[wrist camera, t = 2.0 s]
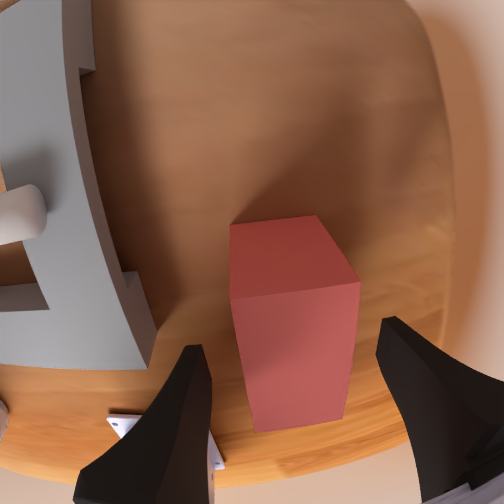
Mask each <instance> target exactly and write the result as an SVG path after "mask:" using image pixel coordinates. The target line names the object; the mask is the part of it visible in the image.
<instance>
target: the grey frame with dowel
mask: <svg viewBox="0 0 504 504" xmlns="http://www.w3.org/2000/svg"><path fill="white" fill-rule="evenodd" d="M93 71H96V66H95V56H94V44H93V30H92V9H91V0H20V1H19V2H17V3H15V4H14V5H12V6H10V7H9V8H7V9H5V10H4V11H2V12H1V13H0V164H1V168H2V173H3V177H4V181H5V185H6V189H7V192H4V193H1V194H0V245H3V244H8V243H12V242H17V241H21V240H22V242H23V245H24V248H25V251H26V253H27V256H28V259H29V261H30V264H31V267H32V269H33V272H34V274H35V277H36V279H37V281H38V282H36V283H27V284H18V285H9V286H0V364H9V365H19V366H30V367H44V368H61V369H88V370H142V369H148V366H149V362H150V358H151V354H152V350H153V347H154V343H155V339H156V335H157V332H158V331H157V329H156V326H155V323H154V320H153V317H152V314H151V312H150V309H149V306H148V303H147V300H146V297H145V293H144V290H143V287H142V284H141V281H140V278H139V274H138V271H130V272H122V271H121V268H120V264H119V261H118V258H117V255H116V251H115V248H114V245H113V241H112V238H111V234H110V231H109V227H108V223H107V220H106V216H105V212H104V208H103V204H102V200H101V196H100V192H99V188H98V183H97V179H96V175H95V170H94V165H93V160H92V155H91V150H90V145H89V140H88V134H87V128H86V122H85V116H84V109H83V102H82V95H81V87H80V78H79V76H81V75H84V74H87V73H90V72H93Z"/></svg>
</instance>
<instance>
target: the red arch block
mask: <svg viewBox="0 0 504 504" xmlns="http://www.w3.org/2000/svg"><path fill="white" fill-rule="evenodd" d="M360 292H361V280H360V279H359V277H358V276H357V274H356V273H355V271H354V270H353V268H352V267H351V265H350V264H349V262H348V261H347V259H346V258H345V256H344V255H343V253H342V252H341V250H340V249H339V247H338V246H337V245H336V243H335V242H334V240H333V239H332V237H331V236H330V234H329V233H328V232H327V230H326V229H325V227H324V226H323V224H322V223H321V222H320V220H319V219H318V217H317V216H316V215H310V216H301V217H292V218H283V219H275V220H266V221H258V222H249V223H241V224H233V225H230V272H229V301H230V306H231V312H232V317H233V323H234V328H235V334H236V339H237V344H238V349H239V355H240V360H241V365H242V370H243V375H244V380H245V385H246V390H247V395H248V400H249V405H250V410H251V415H252V420H253V424H254V429H255V433H257V432H266V431H274V430H282V429H289V428H296V427H302V426H308V425H314V424H320V423H325V422H330V421H335V420H340V419H343V415H344V409H345V404H346V398H347V393H348V387H349V381H350V375H351V368H352V361H353V354H354V347H355V339H356V331H357V322H358V313H359V303H360Z"/></svg>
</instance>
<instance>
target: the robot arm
mask: <svg viewBox="0 0 504 504" xmlns="http://www.w3.org/2000/svg"><path fill="white" fill-rule="evenodd" d="M376 357H377V360H378V364H379V367H380V370H381V372H382V375H383V377H384V380H385V382H386V384H387V386H388V388H389V390H390V392H391V394H392V396H393V398H394V400H395V403H396V405H397V407H398V409H399V411H400V413H401V415H402V418H403V420H404V423H405V426H406V429H407V432H408V436H409V439H410V442H411V446H412V449H413V454H414V458H415V462H416V467H417V472H418V477H419V484H420V490H421V498H422V503H421V504H504V382H503V381H500V380H497V379H495V378H492V377H490V376H487V375H485V374H483V373H480V372H478V371H476V370H474V369H472V368H470V367H468V366H466V365H465V364H463V363H461V362H459V361H457V360H456V359H454V358H452V357H450V356H449V355H448V354H446V353H445V352H443V351H442V350H440V349H439V348H437V347H436V346H434V345H433V344H432V343H430V342H429V341H428V340H426V339H425V338H424V337H422V336H421V335H420V334H418V333H417V332H416V331H414V330H413V329H412V328H411V327H409V326H408V325H407V324H405V323H404V322H403V321H402V320H400V319H399V318H397V317H396V316H393V317H388V318H383V319H382V323H381V328H380V334H379V339H378V345H377V350H376ZM211 407H212V378H211V375H210V372H209V368H208V365H207V361H206V358H205V355H204V351H203V348H202V344H199V345H186V346H185V348H184V349H183V351H182V353H181V355H180V357H179V359H178V361H177V363H176V365H175V367H174V369H173V370H172V372H171V374H170V376H169V377H168V379H167V381H166V382H165V384H164V386H163V387H162V389H161V390H160V392H159V393H158V395H157V396H156V398H155V399H154V401H153V402H152V404H151V405H150V406H149V408H148V409H147V410H146V412H145V413H144V414H143V415H124V414H108V416H107V420H108V422H109V423H110V424H111V426H112V427H113V428H114V430H115V431H116V432H117V434H118V435H119V436H120V438H121V439H120V440H119V441H118V442H117V443H116V444H115V445H113V446H112V447H111V448H110V449H109V450H108V451H107V452H105V453H104V454H103V455H102V456H100V457H99V458H98V459H96V460H95V461H93V462H92V463H90V464H89V465H88V466H86V467H85V468H83V469H81V471H80V473H79V476H78V479H77V483H76V487H75V491H74V496H73V501H74V503H75V504H214V470H218V469H224V468H225V464H224V461H223V459H222V457H221V455H220V453H219V450H218V448H217V446H216V444H215V441H214V439H213V437H212V434H211V432H210V429H209V428H210V418H211Z"/></svg>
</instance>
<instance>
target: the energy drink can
mask: <svg viewBox="0 0 504 504" xmlns="http://www.w3.org/2000/svg"><path fill="white" fill-rule="evenodd" d="M7 414H8V410H7V408H6V406H5V405H4V403H3V402H2V401H1V400H0V442H1V439H2V437H3V435H4V432H5V430H6V428H7V426H8V424H9V419H8V416H7Z"/></svg>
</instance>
